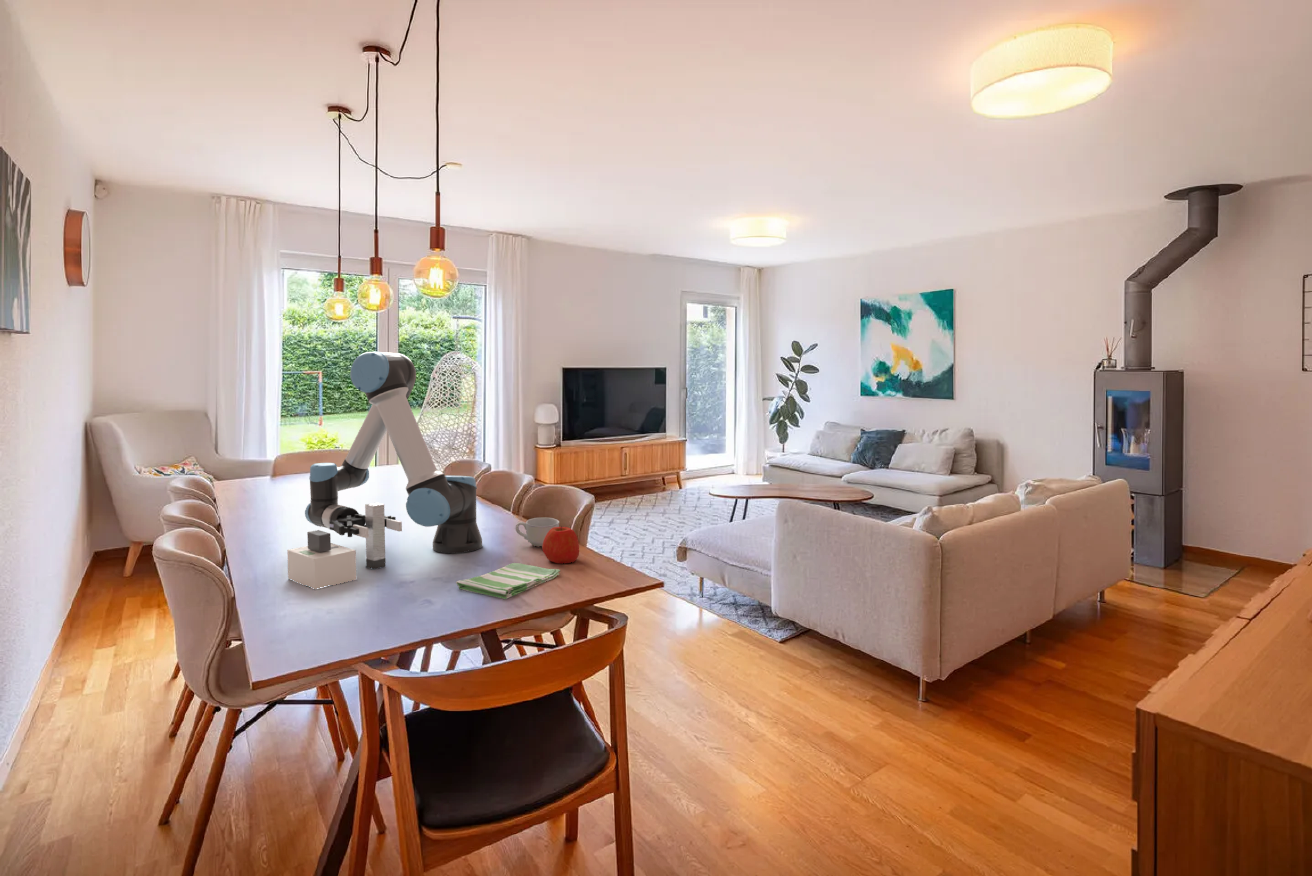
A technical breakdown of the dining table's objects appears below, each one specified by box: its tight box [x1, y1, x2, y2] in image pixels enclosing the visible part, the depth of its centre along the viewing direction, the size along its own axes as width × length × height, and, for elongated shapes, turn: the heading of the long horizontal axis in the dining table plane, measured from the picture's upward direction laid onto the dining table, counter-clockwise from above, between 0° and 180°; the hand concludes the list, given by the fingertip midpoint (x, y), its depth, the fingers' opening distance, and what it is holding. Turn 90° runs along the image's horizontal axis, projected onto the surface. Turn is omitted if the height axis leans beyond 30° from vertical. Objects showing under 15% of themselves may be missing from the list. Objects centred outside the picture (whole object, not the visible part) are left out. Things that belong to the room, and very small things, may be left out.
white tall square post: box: [364, 502, 387, 570], centre depth 191 cm, size 4×4×18 cm
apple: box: [541, 526, 580, 565], centre depth 200 cm, size 11×11×11 cm
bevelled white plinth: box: [287, 542, 357, 590], centre depth 179 cm, size 11×14×8 cm
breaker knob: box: [307, 529, 332, 552], centre depth 178 cm, size 3×6×4 cm, turn 54°
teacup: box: [515, 516, 560, 547], centre depth 219 cm, size 14×11×8 cm
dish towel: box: [455, 562, 561, 600], centre depth 180 cm, size 18×23×3 cm
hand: (384, 529), depth 189 cm, fingers open, 9 cm apart
